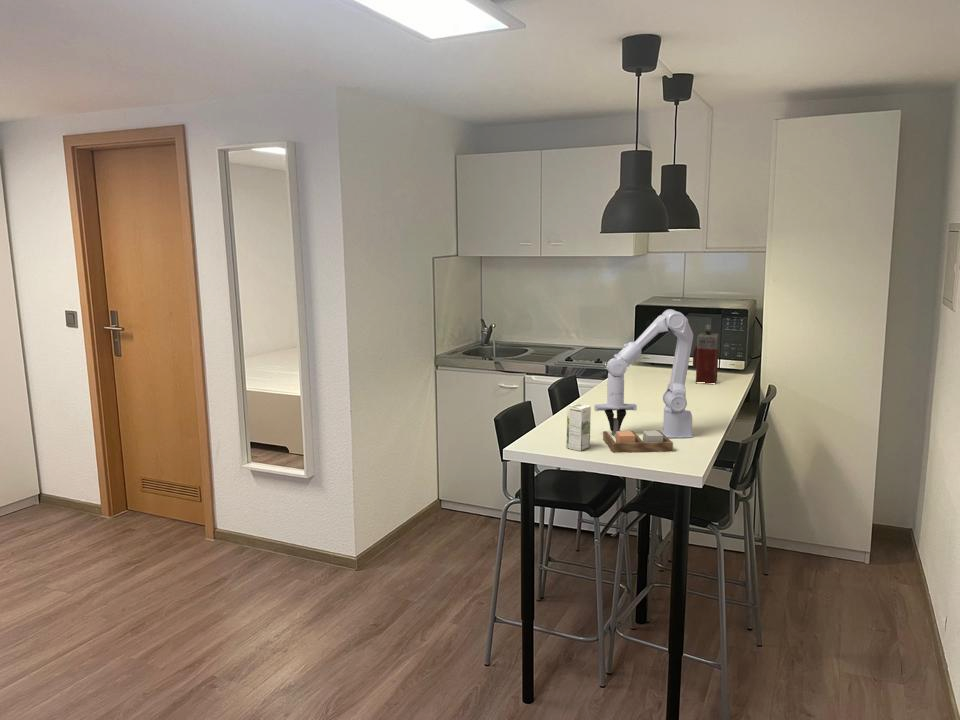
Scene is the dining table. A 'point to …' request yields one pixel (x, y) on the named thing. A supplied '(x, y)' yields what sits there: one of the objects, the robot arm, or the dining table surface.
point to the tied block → (622, 434)
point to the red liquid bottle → (706, 356)
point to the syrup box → (578, 427)
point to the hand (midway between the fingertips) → (615, 430)
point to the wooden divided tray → (638, 444)
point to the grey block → (652, 436)
